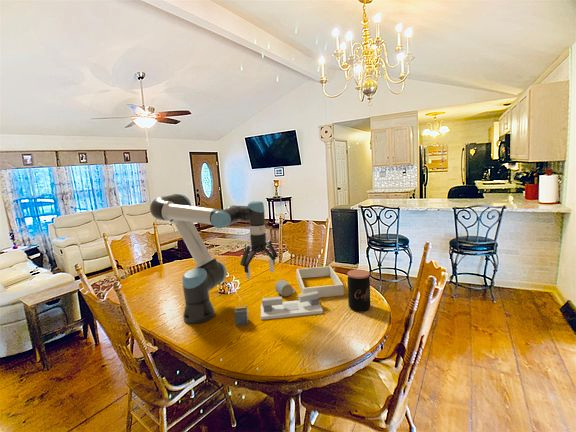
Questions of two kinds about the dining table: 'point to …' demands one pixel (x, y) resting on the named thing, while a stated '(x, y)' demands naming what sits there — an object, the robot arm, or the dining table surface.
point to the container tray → (322, 290)
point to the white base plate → (291, 306)
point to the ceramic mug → (284, 288)
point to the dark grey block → (241, 316)
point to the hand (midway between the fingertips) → (260, 275)
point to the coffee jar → (359, 290)
